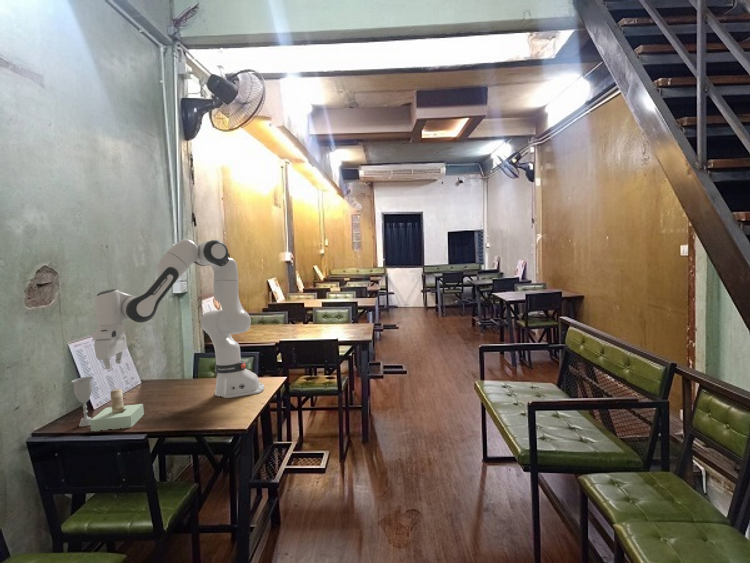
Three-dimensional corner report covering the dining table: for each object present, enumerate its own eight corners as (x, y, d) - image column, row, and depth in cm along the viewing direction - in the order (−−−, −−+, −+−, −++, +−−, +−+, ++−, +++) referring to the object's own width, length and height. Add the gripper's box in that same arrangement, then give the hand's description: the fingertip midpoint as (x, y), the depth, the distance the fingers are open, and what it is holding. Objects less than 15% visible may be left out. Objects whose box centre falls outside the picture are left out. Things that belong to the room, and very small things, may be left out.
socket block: (144, 414, 179) (143, 403, 178) (131, 427, 165) (130, 415, 165) (107, 418, 176) (106, 407, 176) (91, 431, 162) (90, 420, 162)
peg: (126, 420, 173) (123, 388, 172) (122, 423, 169) (119, 391, 168) (115, 421, 172) (112, 389, 171) (111, 425, 168) (108, 392, 167)
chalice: (82, 421, 174) (78, 377, 173) (100, 419, 175) (96, 376, 174) (71, 428, 167) (67, 382, 166) (90, 426, 168) (85, 381, 167)
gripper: (113, 327, 178) (116, 360, 179) (89, 336, 158) (93, 373, 159) (129, 326, 179) (132, 358, 180) (108, 334, 159) (112, 371, 160)
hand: (114, 365), depth 169 cm, fingers open, 8 cm apart
